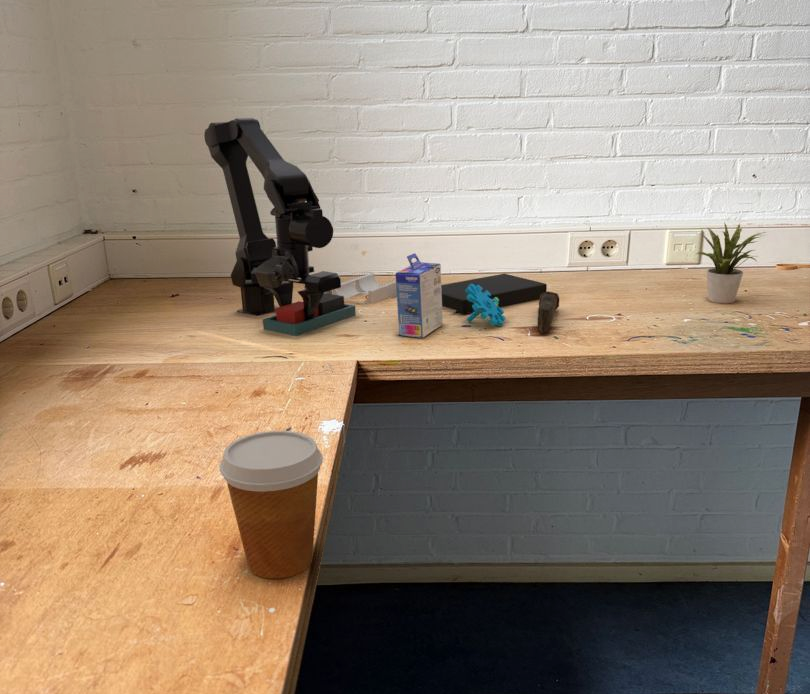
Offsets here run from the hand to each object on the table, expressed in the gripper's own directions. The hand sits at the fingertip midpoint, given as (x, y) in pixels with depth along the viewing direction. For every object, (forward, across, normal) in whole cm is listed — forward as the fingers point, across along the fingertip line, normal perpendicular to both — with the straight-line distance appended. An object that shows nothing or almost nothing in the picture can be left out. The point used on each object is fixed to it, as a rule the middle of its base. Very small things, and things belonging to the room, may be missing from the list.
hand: (298, 321), depth 155 cm
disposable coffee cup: (+2, +56, -61) cm, 83 cm away
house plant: (+2, +63, +63) cm, 89 cm away
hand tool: (+2, +39, +30) cm, 49 cm away
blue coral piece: (+2, +29, +23) cm, 37 cm away
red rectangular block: (+1, 0, 0) cm, 1 cm away
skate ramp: (+2, -6, +29) cm, 29 cm away
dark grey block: (+1, 0, +8) cm, 8 cm away
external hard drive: (+2, +19, +39) cm, 43 cm away
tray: (+2, 0, +4) cm, 4 cm away
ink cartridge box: (+2, +21, +12) cm, 24 cm away
